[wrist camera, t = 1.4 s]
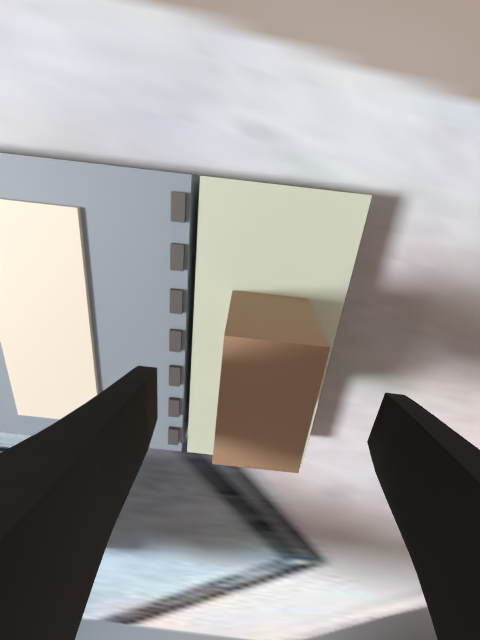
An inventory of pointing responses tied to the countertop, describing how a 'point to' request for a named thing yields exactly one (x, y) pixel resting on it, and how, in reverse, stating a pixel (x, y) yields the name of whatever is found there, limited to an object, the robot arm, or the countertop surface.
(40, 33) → the countertop surface
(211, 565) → the countertop surface
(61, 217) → the board
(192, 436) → the stub
